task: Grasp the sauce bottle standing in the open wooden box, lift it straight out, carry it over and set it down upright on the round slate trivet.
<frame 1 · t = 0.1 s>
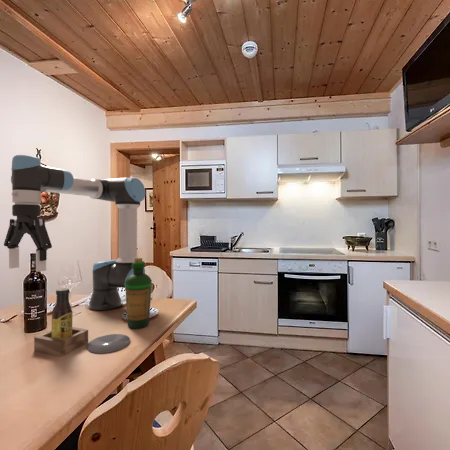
hand: (27, 269, 90), 28 cm above the table, fingers open, 13 cm apart
bottle: (138, 325, 115), on the table
slate trivet: (109, 343, 98), on the table
open wooden box: (62, 346, 96), on the table
sauce bottle: (62, 346, 96), resting in open wooden box
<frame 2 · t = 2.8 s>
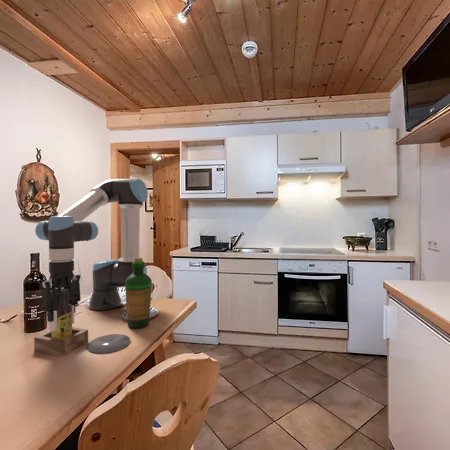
hand: (62, 326, 96), 7 cm above the table, fingers closed on sauce bottle, 6 cm apart
sauce bottle: (62, 346, 96), resting in open wooden box, touching gripper
everything else where it was.
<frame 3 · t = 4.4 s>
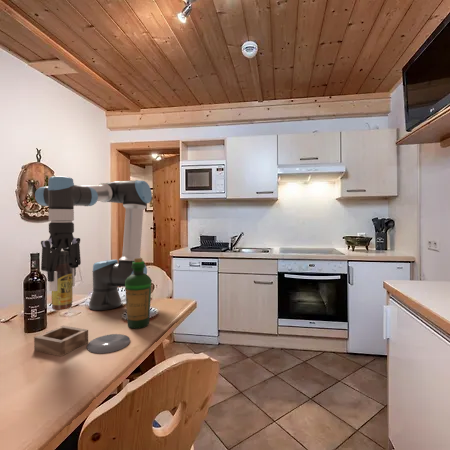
hand: (62, 288, 96), 20 cm above the table, fingers closed on sauce bottle, 6 cm apart
sauce bottle: (62, 308, 96), point 13 cm above the table, touching gripper
everything else where it was.
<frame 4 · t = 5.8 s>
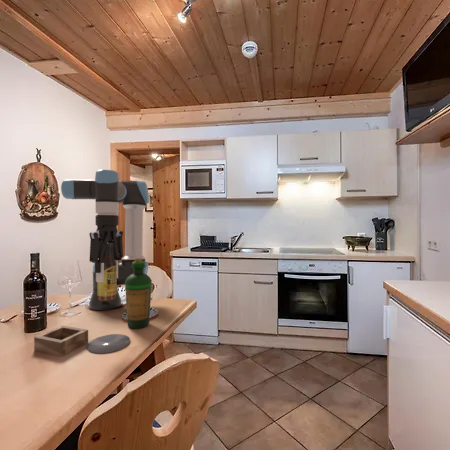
hand: (107, 279, 97), 23 cm above the table, fingers closed on sauce bottle, 6 cm apart
sauce bottle: (107, 299, 98), point 16 cm above the table, touching gripper
everything else where it was.
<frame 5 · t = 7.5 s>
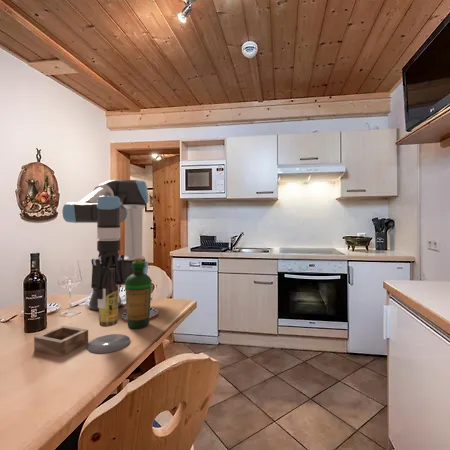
hand: (108, 304, 98), 14 cm above the table, fingers closed on sauce bottle, 6 cm apart
sauce bottle: (108, 324, 98), point 7 cm above the table, touching gripper
everything else where it was.
when the fingers open (8 cm above the table, at t = 8.9 s): sauce bottle stays where it is, resting on slate trivet.
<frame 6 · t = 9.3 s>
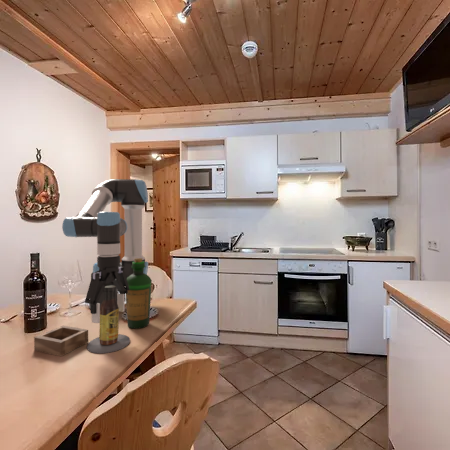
hand: (109, 316, 98), 10 cm above the table, fingers open, 11 cm apart
sauce bottle: (109, 342, 98), resting on slate trivet
everything else where it was.
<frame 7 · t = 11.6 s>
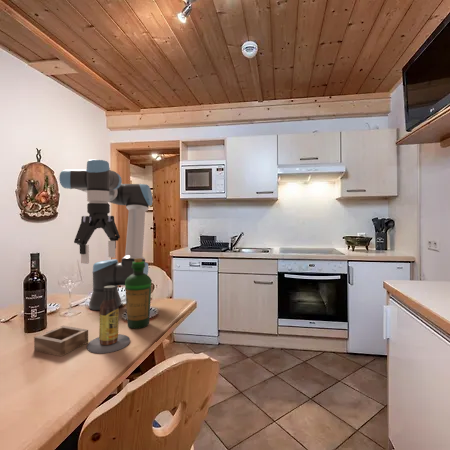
hand: (99, 260, 102), 29 cm above the table, fingers open, 13 cm apart
nothing on the table moved.
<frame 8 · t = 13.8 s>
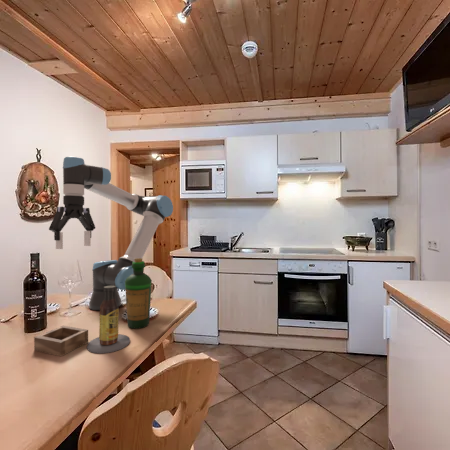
hand: (74, 247, 113), 33 cm above the table, fingers open, 13 cm apart
nothing on the table moved.
at the end: sauce bottle 0.0 cm from the slate trivet (horizontally); sauce bottle tilted 0°; sauce bottle resting on slate trivet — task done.
